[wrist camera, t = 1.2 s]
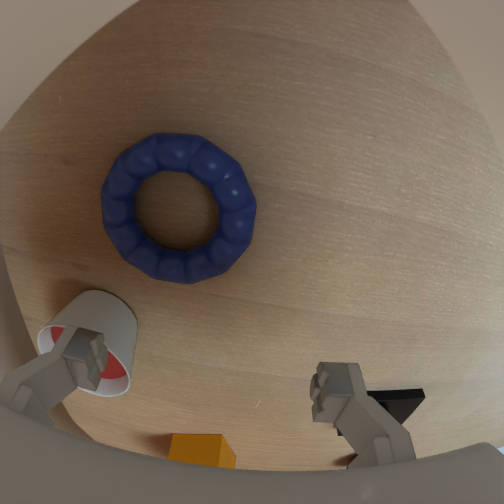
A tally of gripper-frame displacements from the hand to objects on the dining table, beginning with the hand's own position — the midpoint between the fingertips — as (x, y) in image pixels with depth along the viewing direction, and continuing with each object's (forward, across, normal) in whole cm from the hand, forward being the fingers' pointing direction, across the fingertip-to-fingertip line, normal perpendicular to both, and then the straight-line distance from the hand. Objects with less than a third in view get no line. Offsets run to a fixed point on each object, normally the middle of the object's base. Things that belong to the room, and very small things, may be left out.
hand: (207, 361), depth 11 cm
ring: (+12, +4, 0) cm, 12 cm away
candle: (+13, +11, +12) cm, 21 cm away
